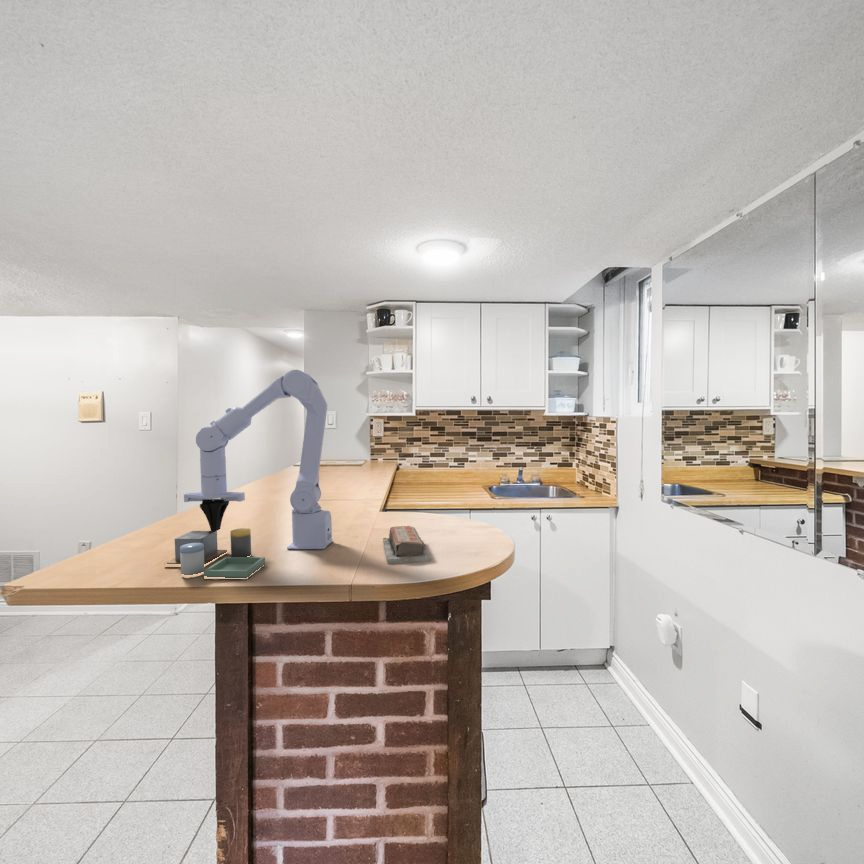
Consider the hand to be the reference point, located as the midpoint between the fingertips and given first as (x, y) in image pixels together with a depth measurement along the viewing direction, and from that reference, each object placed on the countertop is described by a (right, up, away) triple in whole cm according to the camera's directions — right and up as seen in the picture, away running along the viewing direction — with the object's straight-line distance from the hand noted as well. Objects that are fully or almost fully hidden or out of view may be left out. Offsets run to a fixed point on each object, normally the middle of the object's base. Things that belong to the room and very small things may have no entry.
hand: (215, 530), depth 115 cm
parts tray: (+12, -5, -17) cm, 22 cm away
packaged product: (+47, -5, -4) cm, 48 cm away
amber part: (+9, -5, -6) cm, 12 cm away
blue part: (+4, -6, -18) cm, 19 cm away
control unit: (0, -5, -8) cm, 10 cm away
